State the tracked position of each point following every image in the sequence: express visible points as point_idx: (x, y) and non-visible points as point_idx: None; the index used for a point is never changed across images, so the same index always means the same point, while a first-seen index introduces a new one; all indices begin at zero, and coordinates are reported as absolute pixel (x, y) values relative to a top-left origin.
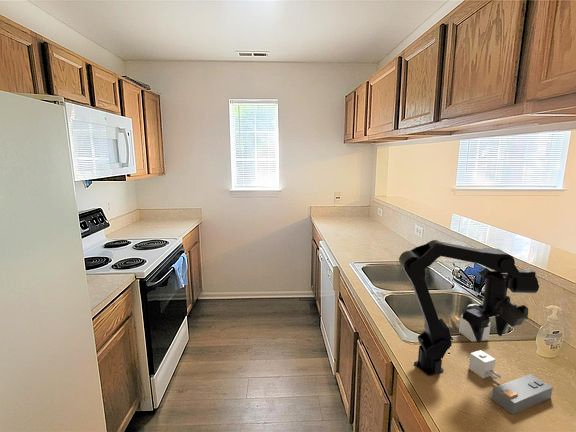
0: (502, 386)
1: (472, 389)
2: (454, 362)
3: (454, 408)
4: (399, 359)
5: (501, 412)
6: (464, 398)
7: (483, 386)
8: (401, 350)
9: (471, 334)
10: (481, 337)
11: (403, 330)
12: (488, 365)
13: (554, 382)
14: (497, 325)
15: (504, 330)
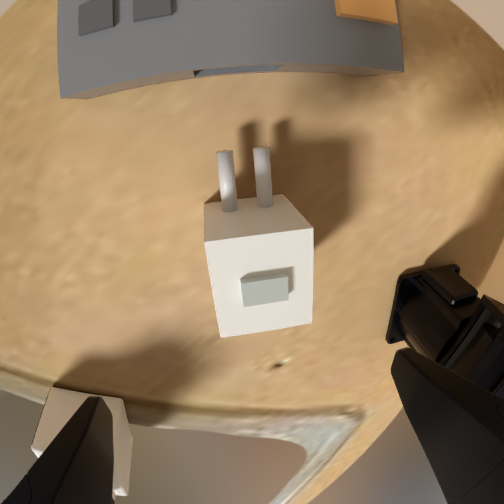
0: (349, 53)
1: (393, 151)
2: None
3: (497, 115)
4: None
5: None
6: (452, 128)
7: (333, 146)
8: None
9: (120, 425)
10: (443, 379)
11: (316, 451)
12: (267, 220)
13: None
14: (105, 500)
15: (56, 442)
